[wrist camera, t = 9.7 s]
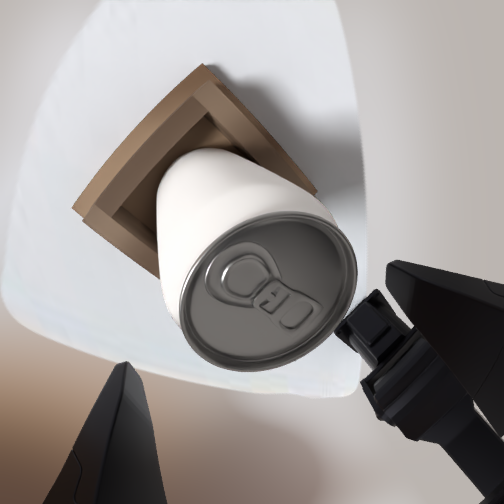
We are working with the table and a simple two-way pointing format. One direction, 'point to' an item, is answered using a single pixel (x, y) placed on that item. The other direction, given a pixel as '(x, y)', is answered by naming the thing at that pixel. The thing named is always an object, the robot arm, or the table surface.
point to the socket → (165, 153)
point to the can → (249, 262)
